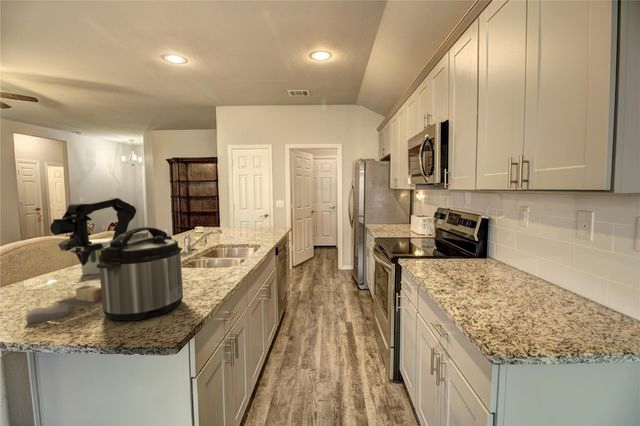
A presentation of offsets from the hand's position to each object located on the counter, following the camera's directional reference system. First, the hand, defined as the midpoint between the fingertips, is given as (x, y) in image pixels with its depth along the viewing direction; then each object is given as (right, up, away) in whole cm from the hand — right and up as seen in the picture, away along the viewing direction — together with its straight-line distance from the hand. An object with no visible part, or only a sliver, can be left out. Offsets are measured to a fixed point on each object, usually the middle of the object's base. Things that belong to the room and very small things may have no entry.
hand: (83, 264), depth 141 cm
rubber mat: (+11, -13, -11) cm, 20 cm away
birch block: (+8, -10, -10) cm, 16 cm away
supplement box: (-16, -9, +33) cm, 38 cm away
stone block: (+9, -15, -27) cm, 32 cm away
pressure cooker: (+40, -14, -21) cm, 47 cm away
